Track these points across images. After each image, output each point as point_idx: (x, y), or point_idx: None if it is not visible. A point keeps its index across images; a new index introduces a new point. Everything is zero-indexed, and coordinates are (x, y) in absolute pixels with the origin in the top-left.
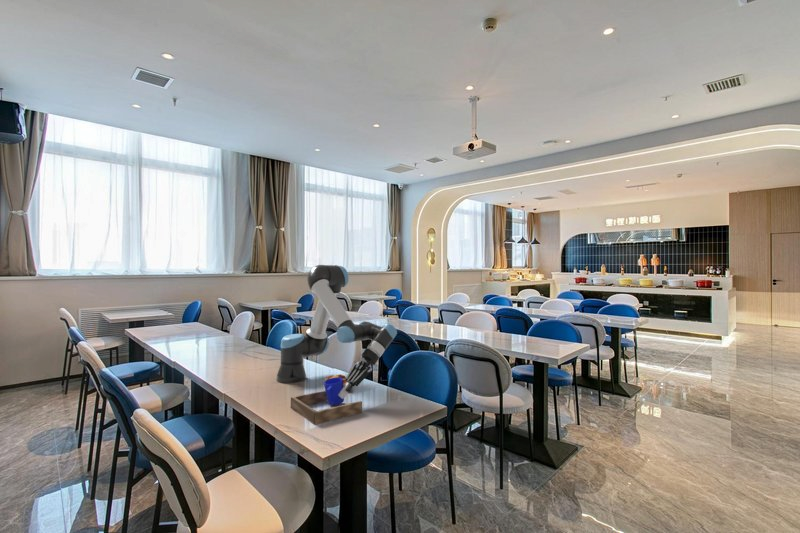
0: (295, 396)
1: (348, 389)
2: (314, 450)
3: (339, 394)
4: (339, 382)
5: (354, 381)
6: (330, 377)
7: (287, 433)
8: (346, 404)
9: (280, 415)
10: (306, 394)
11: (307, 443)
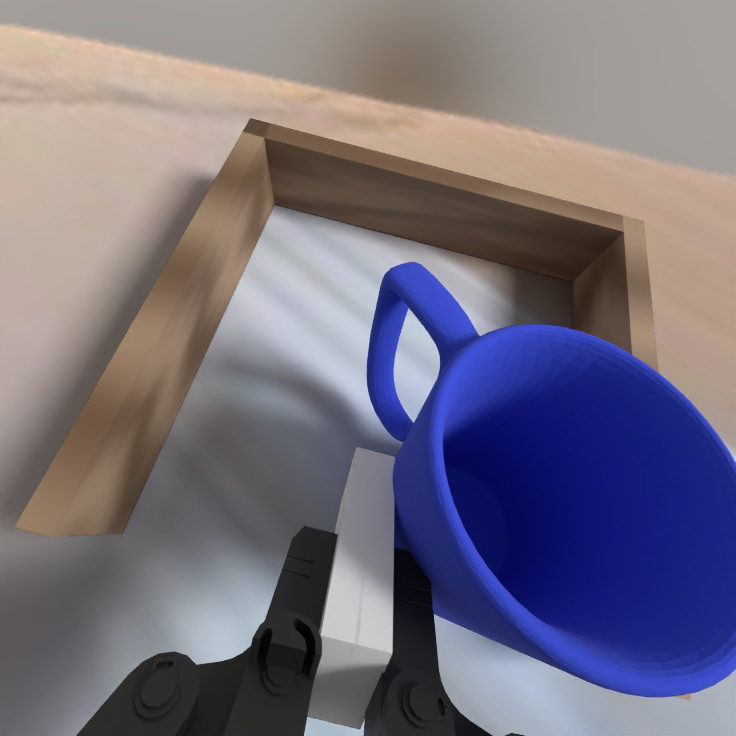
0: (640, 246)
1: (286, 561)
2: (66, 39)
3: (367, 457)
4: (423, 447)
5: (134, 707)
6: None
7: (296, 84)
8: (143, 344)
9: (514, 182)
10: (642, 322)
11: (140, 62)
